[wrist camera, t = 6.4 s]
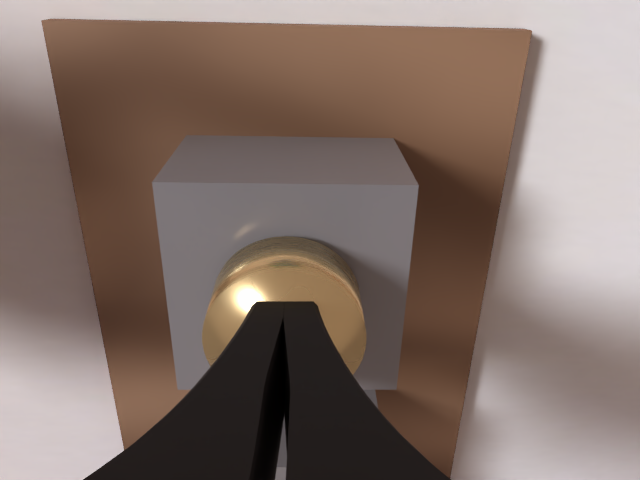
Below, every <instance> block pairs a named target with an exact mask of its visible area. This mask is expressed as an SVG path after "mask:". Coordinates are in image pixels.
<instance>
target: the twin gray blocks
mask: <svg viewBox="0 0 640 480" xmlns="http://www.w3.org/2000/svg"><path fill="white" fill-rule="evenodd" d="M152 186H153V195H154V203H155V211H156V219H157V227H158V235H159V243H160V251H161V259H162V267H163V275H164V283H165V291H166V300H167V308H168V316H169V324H170V332H171V340H172V348H173V356H174V364H175V372H176V380H177V388H178V390H191V389H192V388H193V387H194V386H195V385H196V384H197V382H198V381H199V380H200V379H201V378H202V376H203V375H204V374H205V373H206V372H207V370H208V369H209V368H210V365H209V363H208V361H207V359H206V356H205V353H204V350H203V344H202V330H203V324H204V320H205V317H206V313H207V310H208V306H209V303H210V299H211V296H212V293H213V289H214V286H215V282H216V279H217V277H218V275H219V273H220V271H221V269H222V268H223V266H224V265H225V263H226V262H227V261H228V260H229V259H230V258H231V257H232V256H233V255H234V254H235V253H237V252H238V251H239V250H241V249H242V248H244V247H246V246H247V245H249V244H252V243H254V242H256V241H259V240H263V239H266V238H272V237H281V236H291V237H300V238H305V239H309V240H312V241H315V242H318V243H320V244H322V245H324V246H326V247H328V248H329V249H331V250H333V251H334V252H335V253H337V254H338V255H339V256H340V257H341V258H342V259H343V260H344V261H345V262H346V263H347V264H348V266H349V267H350V269H351V270H352V272H353V274H354V276H355V278H356V280H357V283H358V287H359V293H360V298H361V304H362V310H363V316H364V322H365V328H366V341H367V342H366V349H365V353H364V356H363V359H362V361H361V363H360V365H359V367H358V368H357V370H356V371H355V373H354V374H353V376H354V378H355V379H356V380H357V382H358V383H359V385H360V386H361V388H362V389H363V390H364V392H365V393H366V394H367V396H368V397H369V398H370V400H371V401H372V402H373V403H374V405H375V406H376V407H377V408H378V404H377V398H376V392H375V390H396V389H397V380H398V371H399V362H400V353H401V344H402V335H403V325H404V316H405V307H406V298H407V289H408V280H409V271H410V261H411V252H412V243H413V234H414V225H415V216H416V207H417V197H418V188H419V185H418V183H417V181H416V179H415V177H414V175H413V173H412V172H411V170H410V168H409V166H408V164H407V162H406V160H405V159H404V157H403V155H402V153H401V151H400V149H399V147H398V146H397V144H396V142H395V140H394V138H346V137H276V136H207V135H186V136H185V138H184V139H183V141H182V142H181V143H180V145H179V146H178V147H177V149H176V150H175V151H174V153H173V154H172V156H171V157H170V158H169V160H168V161H167V162H166V164H165V165H164V166H163V168H162V169H161V171H160V172H159V173H158V175H157V176H156V177H155V179H154V180H153V181H152ZM286 465H287V449H286V434H285V418H284V421H283V428H282V435H281V442H280V449H279V456H278V463H277V470H276V476H275V480H286Z"/></svg>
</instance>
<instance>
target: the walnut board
mask: <svg viewBox="0 0 640 480" xmlns="http://www.w3.org/2000/svg"><path fill="white" fill-rule="evenodd" d="M42 26H43V31H44V36H45V41H46V47H47V52H48V57H49V62H50V67H51V73H52V78H53V83H54V88H55V93H56V98H57V104H58V109H59V114H60V119H61V124H62V130H63V135H64V140H65V145H66V150H67V155H68V161H69V166H70V171H71V176H72V181H73V187H74V192H75V197H76V202H77V207H78V212H79V218H80V223H81V228H82V233H83V238H84V244H85V249H86V254H87V259H88V264H89V269H90V275H91V280H92V285H93V290H94V295H95V301H96V306H97V311H98V316H99V321H100V327H101V332H102V337H103V342H104V347H105V352H106V358H107V363H108V368H109V373H110V378H111V384H112V389H113V394H114V399H115V404H116V409H117V415H118V420H119V425H120V430H121V435H122V441H123V446H124V450H126V449H127V448H128V447H129V446H131V445H132V444H133V443H134V442H136V441H137V440H138V439H139V438H140V437H142V436H143V435H144V434H145V433H146V432H147V431H148V430H150V429H151V428H152V427H153V426H154V425H155V424H156V423H158V422H159V421H160V420H161V419H162V418H163V417H164V416H165V415H166V414H167V413H169V412H170V411H171V410H172V409H173V408H174V407H175V406H176V405H177V404H178V403H179V402H180V401H181V400H182V399H183V398H184V397H185V396H186V394H187V393H188V392H189V391H190V390H178V388H177V380H176V372H175V364H174V356H173V348H172V340H171V332H170V324H169V316H168V308H167V300H166V291H165V283H164V275H163V267H162V259H161V251H160V243H159V235H158V227H157V219H156V211H155V203H154V195H153V186H152V181H153V180H154V179H155V177H156V176H157V175H158V173H159V172H160V171H161V169H162V168H163V166H164V165H165V164H166V162H167V161H168V160H169V158H170V157H171V156H172V154H173V153H174V151H175V150H176V149H177V147H178V146H179V145H180V143H181V142H182V141H183V139H184V138H185V136H186V135H207V136H276V137H346V138H394V140H395V142H396V144H397V146H398V147H399V149H400V151H401V153H402V155H403V157H404V159H405V160H406V162H407V164H408V166H409V168H410V170H411V172H412V173H413V175H414V177H415V179H416V181H417V183H418V185H419V188H418V197H417V207H416V216H415V225H414V234H413V243H412V252H411V261H410V271H409V280H408V289H407V298H406V307H405V316H404V325H403V335H402V344H401V353H400V362H399V371H398V380H397V389H396V390H375V392H376V398H377V404H378V409H379V411H380V412H381V413H382V414H383V415H384V416H385V418H386V419H387V420H388V421H389V422H390V423H391V424H392V425H393V426H394V427H395V429H396V430H397V431H398V432H399V433H400V434H401V435H402V436H403V437H404V438H405V439H406V440H407V441H408V442H409V443H410V444H412V445H413V446H414V447H415V448H416V449H417V450H418V451H419V452H420V453H421V454H422V455H423V456H424V457H425V458H426V459H427V460H428V461H429V462H431V463H432V464H433V465H434V466H435V467H436V468H437V469H439V470H440V471H441V472H442V473H444V474H445V475H446V476H447V477H448V478H450V475H451V469H452V464H453V458H454V453H455V447H456V442H457V437H458V431H459V426H460V420H461V415H462V409H463V404H464V398H465V393H466V387H467V382H468V377H469V371H470V366H471V360H472V355H473V349H474V344H475V338H476V333H477V328H478V322H479V317H480V311H481V306H482V300H483V295H484V289H485V284H486V279H487V273H488V268H489V262H490V257H491V251H492V246H493V240H494V235H495V229H496V224H497V219H498V213H499V208H500V202H501V197H502V191H503V186H504V180H505V175H506V170H507V164H508V159H509V153H510V148H511V142H512V137H513V131H514V126H515V121H516V115H517V110H518V104H519V99H520V93H521V88H522V82H523V77H524V71H525V66H526V61H527V55H528V50H529V44H530V39H531V33H532V31H531V30H527V29H509V28H461V27H414V26H367V25H319V24H272V23H224V22H177V21H129V20H82V19H48V20H42Z"/></svg>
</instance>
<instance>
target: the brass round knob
mask: <svg viewBox="0 0 640 480" xmlns="http://www.w3.org/2000/svg"><path fill="white" fill-rule="evenodd" d="M256 301H313V302H314V303H316V304H317V305H318V308H319V311H320V315H321V317H322V320H323V322H324V325H325V327H326V329H327V331H328V333H329V335H330V337H331V339H332V341H333V343H334V345H335V347H336V348H337V350H338V352H339V354H340V355H341V357H342V359H343V361H344V362H345V364H346V365H347V367H348V369H349V370H350V372H351V373H352V375H353V374H354V373H355V371H356V370H357V368H358V367H359V365H360V363H361V361H362V359H363V356H364V353H365V349H366V342H367V341H366V328H365V322H364V316H363V310H362V304H361V298H360V293H359V287H358V283H357V280H356V278H355V276H354V274H353V272H352V270H351V269H350V267H349V266H348V264H347V263H346V262H345V261H344V260H343V259H342V258H341V257H340V256H339V255H338V254H337V253H335V252H334V251H333V250H331V249H329V248H328V247H326V246H324V245H322V244H320V243H318V242H315V241H312V240H309V239H305V238H300V237H291V236H281V237H272V238H266V239H263V240H259V241H256V242H254V243H252V244H249V245H247V246H246V247H244V248H242V249H241V250H239V251H238V252H237V253H235V254H234V255H233V256H232V257H231V258H230V259H229V260H228V261H227V262H226V263H225V265H224V266H223V268H222V269H221V271H220V273H219V275H218V277H217V279H216V282H215V286H214V289H213V293H212V296H211V299H210V303H209V306H208V310H207V313H206V317H205V320H204V324H203V330H202V344H203V350H204V353H205V356H206V359H207V361H208V363H209V365H210V367H211V366H212V364H213V363H214V362H215V361H216V360H217V358H218V357H219V356H220V354H221V353H222V351H223V350H224V349H225V347H226V346H227V345H228V343H229V342H230V340H231V339H232V338H233V336H234V335H235V333H236V332H237V330H238V329H239V327H240V325H241V324H242V322H243V321H244V319H245V317H246V315H247V314H248V312H249V310H250V308H251V306H252V305H253V304H254V303H255V302H256Z"/></svg>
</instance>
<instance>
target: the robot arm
mask: <svg viewBox="0 0 640 480" xmlns="http://www.w3.org/2000/svg"><path fill="white" fill-rule="evenodd" d="M284 418H285V434H286V449H287V465H286V480H451V479H450V478H448V477H447V476H446V475H445V474H444V473H442V472H441V471H440V470H439V469H437V468H436V467H435V466H434V465H433V464H432V463H431V462H429V461H428V460H427V459H426V458H425V457H424V456H423V455H422V454H421V453H420V452H419V451H418V450H417V449H416V448H415V447H414V446H413V445H412V444H410V443H409V442H408V441H407V440H406V439H405V438H404V437H403V436H402V435H401V434H400V433H399V432H398V431H397V430H396V429H395V427H394V426H393V425H392V424H391V423H390V422H389V421H388V420H387V419H386V418H385V416H384V415H383V414H382V413H381V412H380V411H379V409H378V408H377V407H376V406H375V405H374V403H373V402H372V401H371V400H370V398H369V397H368V396H367V394H366V393H365V392H364V390H363V389H362V388H361V386H360V385H359V383H358V382H357V380H356V379H355V378H354V376H353V375H352V373H351V372H350V370H349V369H348V367H347V365H346V364H345V362H344V361H343V359H342V357H341V355H340V354H339V352H338V350H337V348H336V347H335V345H334V343H333V341H332V339H331V337H330V335H329V333H328V331H327V329H326V327H325V325H324V322H323V320H322V317H321V315H320V311H319V308H318V305H317V304H316V303H314V302H313V301H256V302H255V303H254V304H253V305H252V306H251V308H250V310H249V312H248V314H247V315H246V317H245V319H244V321H243V322H242V324H241V325H240V327H239V329H238V330H237V332H236V333H235V335H234V336H233V338H232V339H231V340H230V342H229V343H228V345H227V346H226V347H225V349H224V350H223V351H222V353H221V354H220V356H219V357H218V358H217V360H216V361H215V362H214V363H213V364H212V366H211V367H210V368H209V369H208V370H207V372H206V373H205V374H204V375H203V376H202V378H201V379H200V380H199V381H198V382H197V384H196V385H195V386H194V387H193V388H192V389H191V390H190V391H189V392H188V393H187V394H186V396H185V397H184V398H183V399H182V400H181V401H180V402H179V403H178V404H177V405H176V406H175V407H174V408H173V409H172V410H171V411H170V412H169V413H167V414H166V415H165V416H164V417H163V418H162V419H161V420H160V421H159V422H158V423H156V424H155V425H154V426H153V427H152V428H151V429H150V430H148V431H147V432H146V433H145V434H144V435H143V436H142V437H140V438H139V439H138V440H137V441H136V442H134V443H133V444H132V445H131V446H129V447H128V448H127V449H126V450H124V451H123V452H122V453H120V454H119V455H117V456H116V457H115V458H113V459H112V460H111V461H109V462H108V463H106V464H105V465H104V466H102V467H101V468H99V469H98V470H97V471H95V472H94V473H92V474H91V475H89V476H88V477H86V478H85V479H83V480H275V476H276V470H277V463H278V456H279V449H280V442H281V435H282V428H283V421H284Z"/></svg>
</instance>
